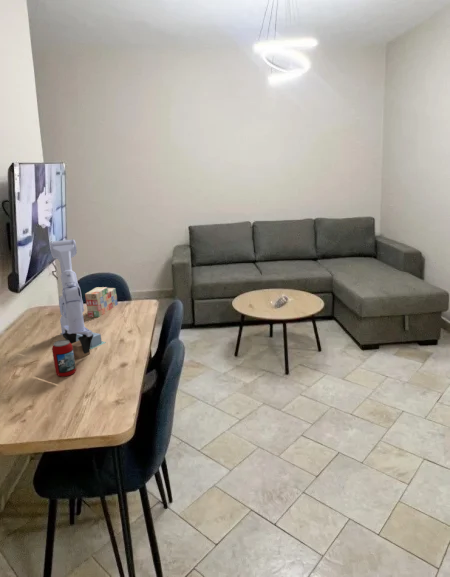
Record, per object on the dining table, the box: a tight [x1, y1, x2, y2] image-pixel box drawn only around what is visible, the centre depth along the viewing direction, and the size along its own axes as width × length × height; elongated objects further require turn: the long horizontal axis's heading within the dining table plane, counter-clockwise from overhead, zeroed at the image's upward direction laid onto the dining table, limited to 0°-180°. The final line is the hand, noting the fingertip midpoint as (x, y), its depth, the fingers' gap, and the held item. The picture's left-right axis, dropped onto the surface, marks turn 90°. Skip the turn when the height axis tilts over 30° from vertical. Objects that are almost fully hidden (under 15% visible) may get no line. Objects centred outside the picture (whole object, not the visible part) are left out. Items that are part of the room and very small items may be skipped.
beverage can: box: [51, 339, 77, 378], centre depth 153 cm, size 7×7×12 cm
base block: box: [76, 331, 102, 347], centre depth 180 cm, size 10×5×4 cm, turn 57°
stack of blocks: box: [84, 286, 118, 318], centre depth 225 cm, size 21×6×12 cm, turn 169°
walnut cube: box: [72, 341, 91, 359], centre depth 168 cm, size 5×5×5 cm
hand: (80, 350), depth 169 cm, fingers open, 7 cm apart
